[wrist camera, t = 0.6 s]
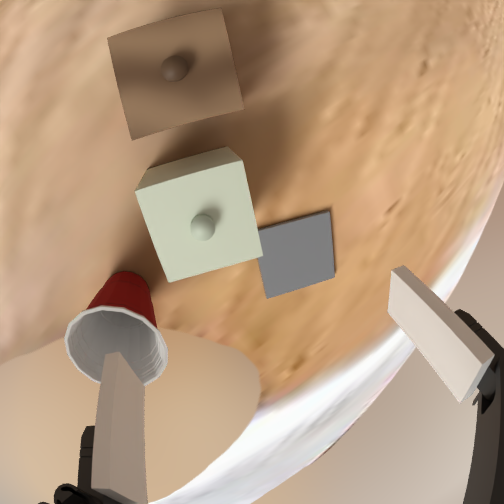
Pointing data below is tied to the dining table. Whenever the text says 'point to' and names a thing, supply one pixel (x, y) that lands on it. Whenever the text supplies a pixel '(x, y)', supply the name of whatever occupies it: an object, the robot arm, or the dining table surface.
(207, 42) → the walnut cover
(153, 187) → the sage cover
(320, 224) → the grey square plate
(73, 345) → the plastic cup
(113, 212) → the dining table surface
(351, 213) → the dining table surface
